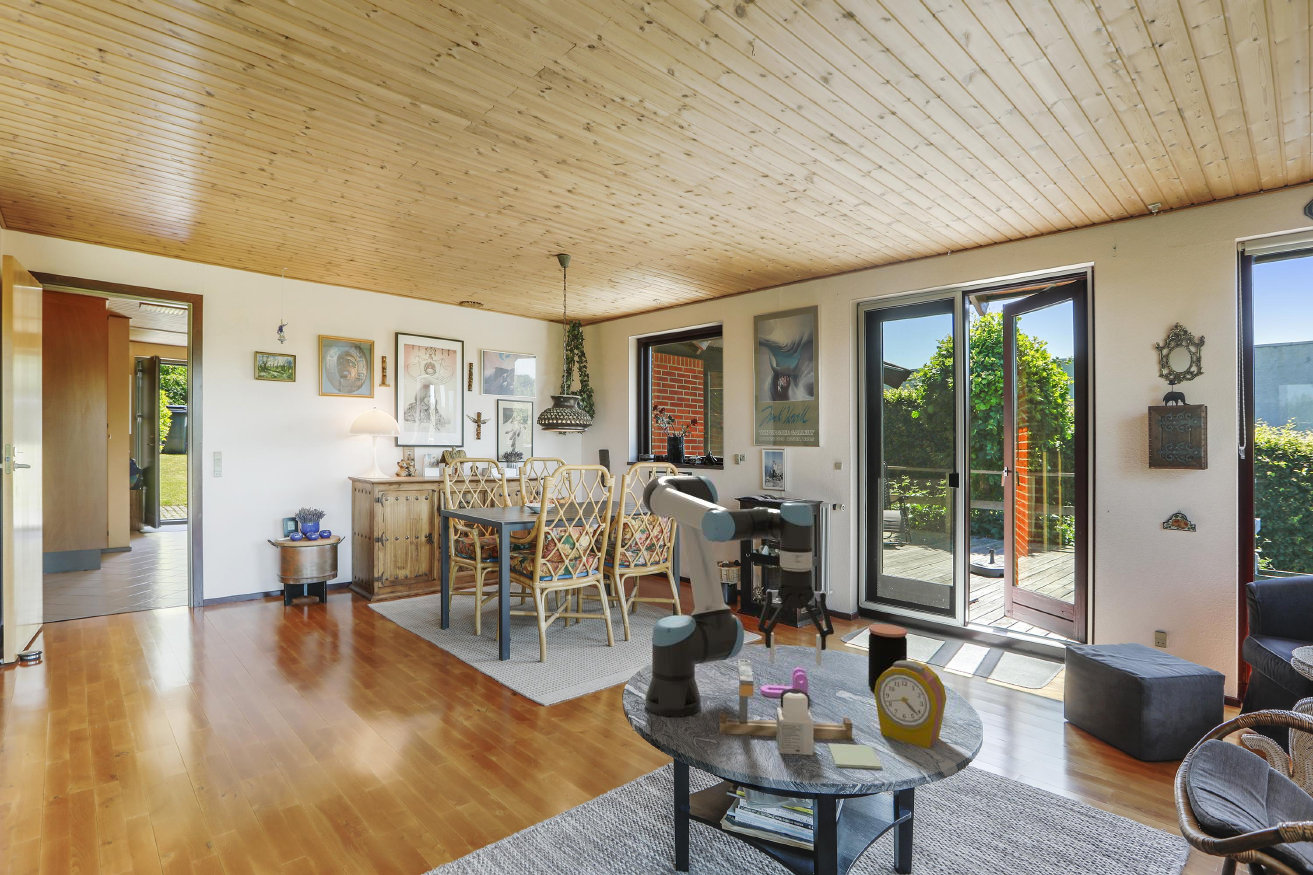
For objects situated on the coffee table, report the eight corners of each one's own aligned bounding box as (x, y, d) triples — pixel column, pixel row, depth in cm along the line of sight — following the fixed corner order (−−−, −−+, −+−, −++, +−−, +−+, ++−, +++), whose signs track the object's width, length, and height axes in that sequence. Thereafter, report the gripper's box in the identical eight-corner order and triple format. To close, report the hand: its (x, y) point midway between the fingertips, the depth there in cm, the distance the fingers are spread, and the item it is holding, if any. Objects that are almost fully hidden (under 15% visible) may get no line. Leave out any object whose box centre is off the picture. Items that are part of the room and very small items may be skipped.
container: (776, 738, 155) (776, 684, 155) (808, 740, 154) (809, 686, 154) (779, 753, 147) (779, 696, 147) (813, 755, 146) (813, 698, 147)
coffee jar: (903, 700, 180) (904, 636, 181) (864, 692, 186) (865, 630, 186) (909, 688, 190) (909, 627, 190) (872, 681, 195) (872, 622, 195)
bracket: (805, 691, 186) (805, 667, 186) (807, 699, 181) (807, 674, 181) (760, 689, 188) (760, 665, 188) (761, 696, 182) (761, 671, 182)
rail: (719, 733, 157) (719, 716, 158) (719, 727, 161) (719, 711, 161) (852, 739, 155) (852, 723, 155) (849, 734, 158) (849, 717, 158)
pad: (835, 766, 141) (836, 763, 141) (827, 745, 151) (827, 743, 151) (882, 768, 140) (882, 766, 140) (871, 748, 150) (871, 745, 150)
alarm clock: (873, 733, 159) (873, 658, 159) (885, 722, 165) (885, 651, 165) (935, 751, 149) (936, 672, 149) (946, 740, 155) (946, 664, 156)
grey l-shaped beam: (739, 746, 144) (740, 680, 145) (736, 718, 160) (737, 658, 160) (752, 747, 144) (753, 681, 145) (749, 719, 159) (749, 659, 160)
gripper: (748, 569, 149) (747, 665, 148) (848, 572, 147) (847, 669, 146) (746, 564, 156) (745, 655, 156) (841, 566, 154) (841, 659, 154)
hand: (795, 662), depth 151 cm, fingers open, 10 cm apart
